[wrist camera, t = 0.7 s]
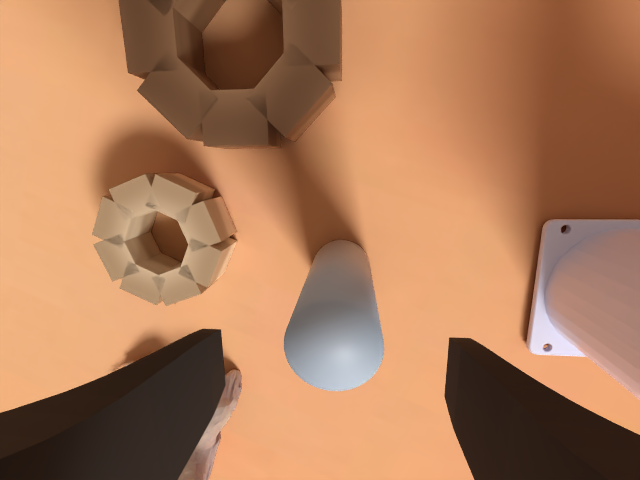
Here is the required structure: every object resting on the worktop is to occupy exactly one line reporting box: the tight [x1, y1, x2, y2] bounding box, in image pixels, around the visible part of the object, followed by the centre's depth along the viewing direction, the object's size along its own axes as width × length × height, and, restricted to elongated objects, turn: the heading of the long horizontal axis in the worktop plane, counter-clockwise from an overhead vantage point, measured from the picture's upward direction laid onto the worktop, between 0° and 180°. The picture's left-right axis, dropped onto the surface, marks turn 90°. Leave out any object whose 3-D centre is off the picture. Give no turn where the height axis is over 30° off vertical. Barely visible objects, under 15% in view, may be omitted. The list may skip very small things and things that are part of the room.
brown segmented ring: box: [119, 0, 342, 149], centre depth 16 cm, size 10×10×3 cm
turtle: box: [128, 363, 242, 480], centre depth 21 cm, size 16×10×10 cm, turn 154°
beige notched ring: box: [92, 173, 237, 306], centre depth 19 cm, size 7×7×2 cm
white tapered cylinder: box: [284, 240, 384, 391], centre depth 16 cm, size 3×3×9 cm
